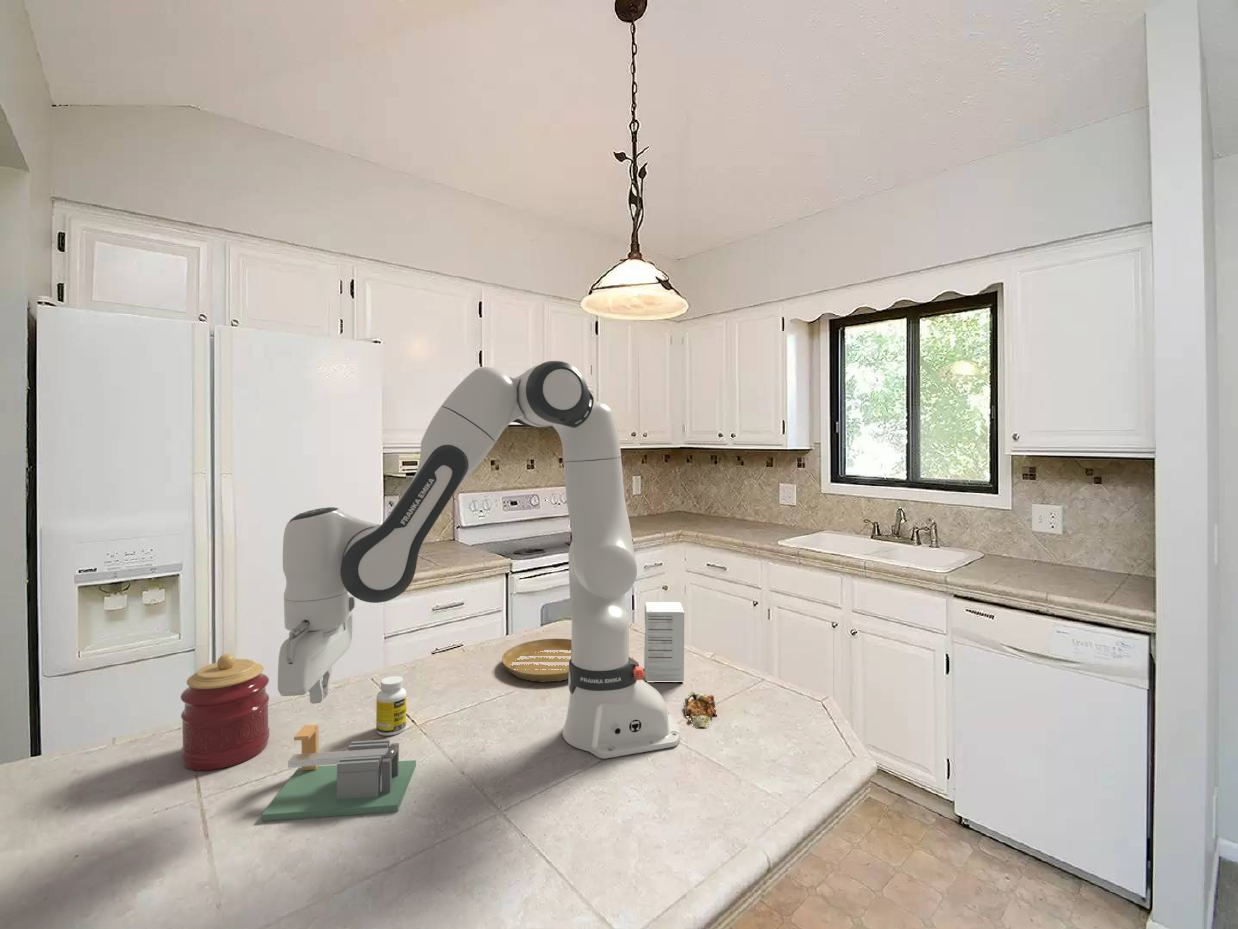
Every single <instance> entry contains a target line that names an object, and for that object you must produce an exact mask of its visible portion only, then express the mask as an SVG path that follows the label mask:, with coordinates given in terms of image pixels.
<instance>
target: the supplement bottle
mask: <svg viewBox="0 0 1238 929" xmlns="http://www.w3.org/2000/svg"><path fill="white" fill-rule="evenodd" d="M403 682H404V680H403V677H402V676H397V675H391V676H388V677H387V676H386V677H384V678H383V679H381V680H380V690H379V691H378V692H377V695H376V722H375V723H376V724H375V725H376V728H375V729H376V733H377V734H378V735H380V736H383V737H384V736H385V737H389V736H395V735H398V734H400V733H402V732H404V730H406V728H407V691H406V689H405V688H404V687H403V685H404V683H403Z"/></svg>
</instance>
